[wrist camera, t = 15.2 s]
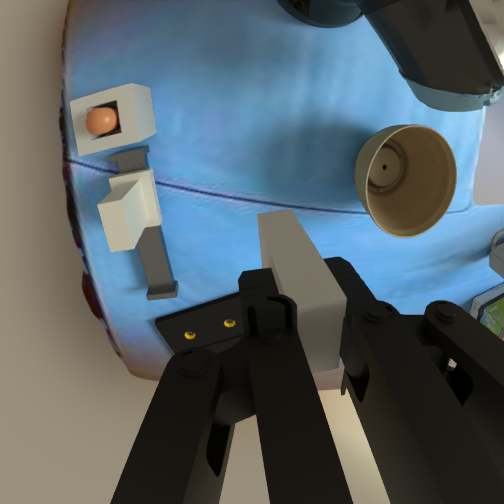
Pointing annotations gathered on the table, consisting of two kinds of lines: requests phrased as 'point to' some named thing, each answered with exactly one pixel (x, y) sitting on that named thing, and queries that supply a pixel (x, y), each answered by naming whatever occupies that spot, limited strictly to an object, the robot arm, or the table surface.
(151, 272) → the rail
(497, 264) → the network device
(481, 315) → the tea box
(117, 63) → the table surface
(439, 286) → the table surface
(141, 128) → the housing
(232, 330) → the black cassette tape
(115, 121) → the plunger
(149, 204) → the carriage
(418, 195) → the planter bowl
